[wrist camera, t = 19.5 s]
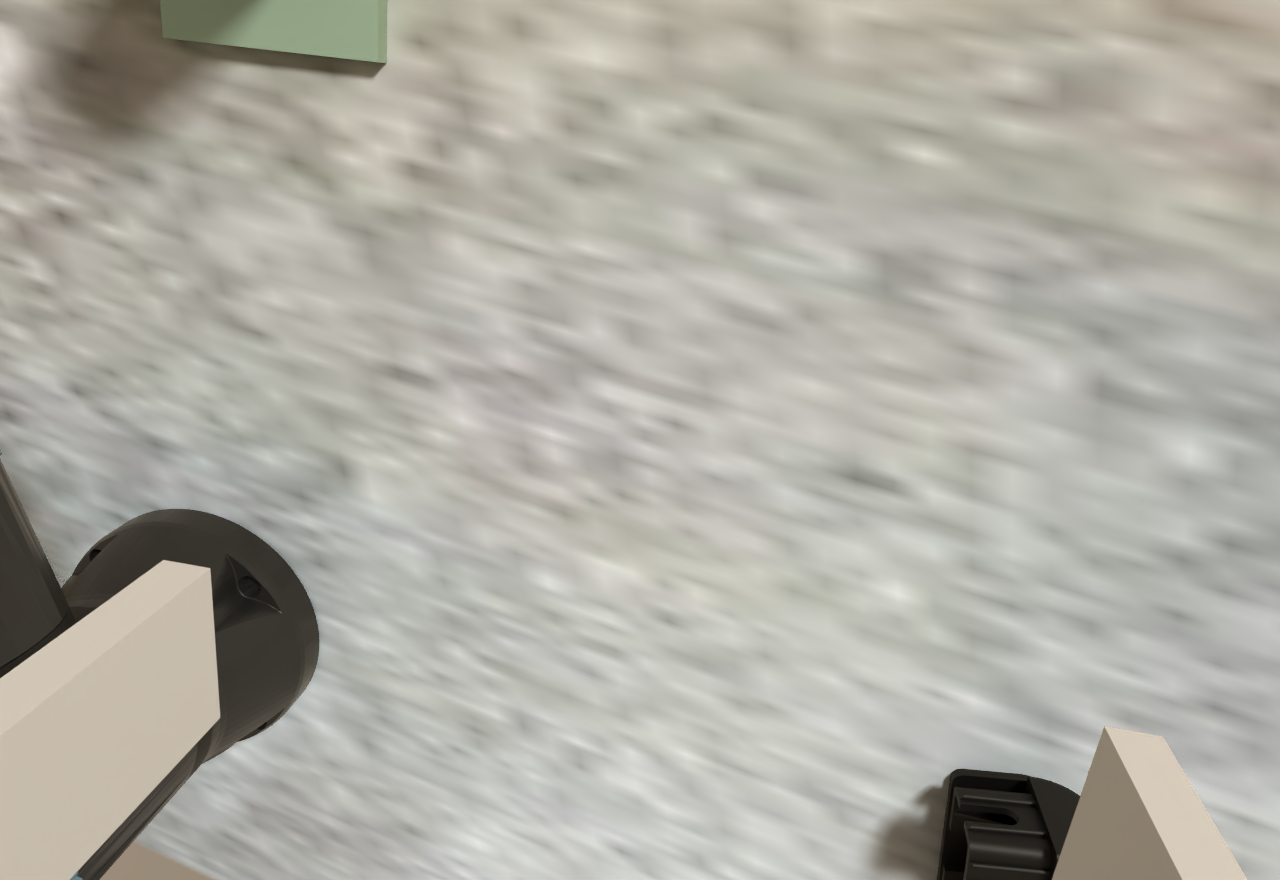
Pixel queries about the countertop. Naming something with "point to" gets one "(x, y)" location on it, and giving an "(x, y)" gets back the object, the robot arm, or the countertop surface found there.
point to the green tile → (283, 25)
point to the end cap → (1004, 826)
